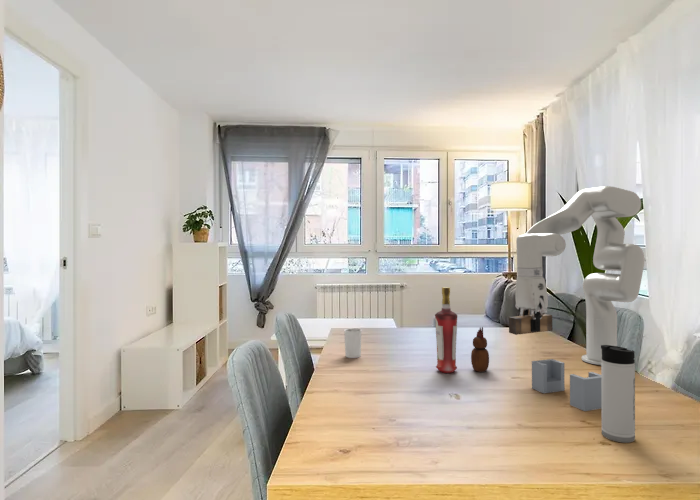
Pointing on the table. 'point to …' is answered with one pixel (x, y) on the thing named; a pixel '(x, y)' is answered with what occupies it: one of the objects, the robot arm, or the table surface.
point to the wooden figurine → (480, 353)
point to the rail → (529, 324)
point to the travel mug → (618, 393)
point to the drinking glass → (352, 342)
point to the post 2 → (586, 391)
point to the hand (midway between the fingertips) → (531, 329)
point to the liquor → (446, 335)
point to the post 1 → (548, 376)
